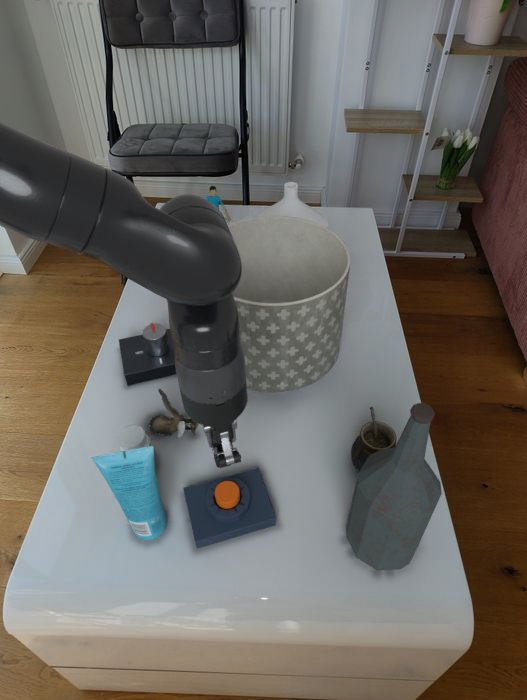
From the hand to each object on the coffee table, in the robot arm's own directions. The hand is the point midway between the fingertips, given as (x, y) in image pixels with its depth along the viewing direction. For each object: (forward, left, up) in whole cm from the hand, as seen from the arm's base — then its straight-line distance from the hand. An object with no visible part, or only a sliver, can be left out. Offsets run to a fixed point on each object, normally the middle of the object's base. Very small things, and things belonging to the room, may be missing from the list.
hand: (223, 461), depth 69 cm
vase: (+30, +59, -14) cm, 68 cm away
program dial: (-5, +35, -10) cm, 37 cm away
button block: (0, 0, -13) cm, 13 cm away
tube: (-12, +1, -14) cm, 18 cm away
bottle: (+20, -11, -14) cm, 26 cm away
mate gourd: (+24, +1, -14) cm, 28 cm away
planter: (+16, +29, -14) cm, 36 cm away
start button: (0, 0, -10) cm, 10 cm away
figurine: (+15, +72, -14) cm, 75 cm away
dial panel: (-5, +35, -13) cm, 38 cm away
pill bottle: (-12, +12, -14) cm, 22 cm away
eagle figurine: (-5, +18, -14) cm, 23 cm away
